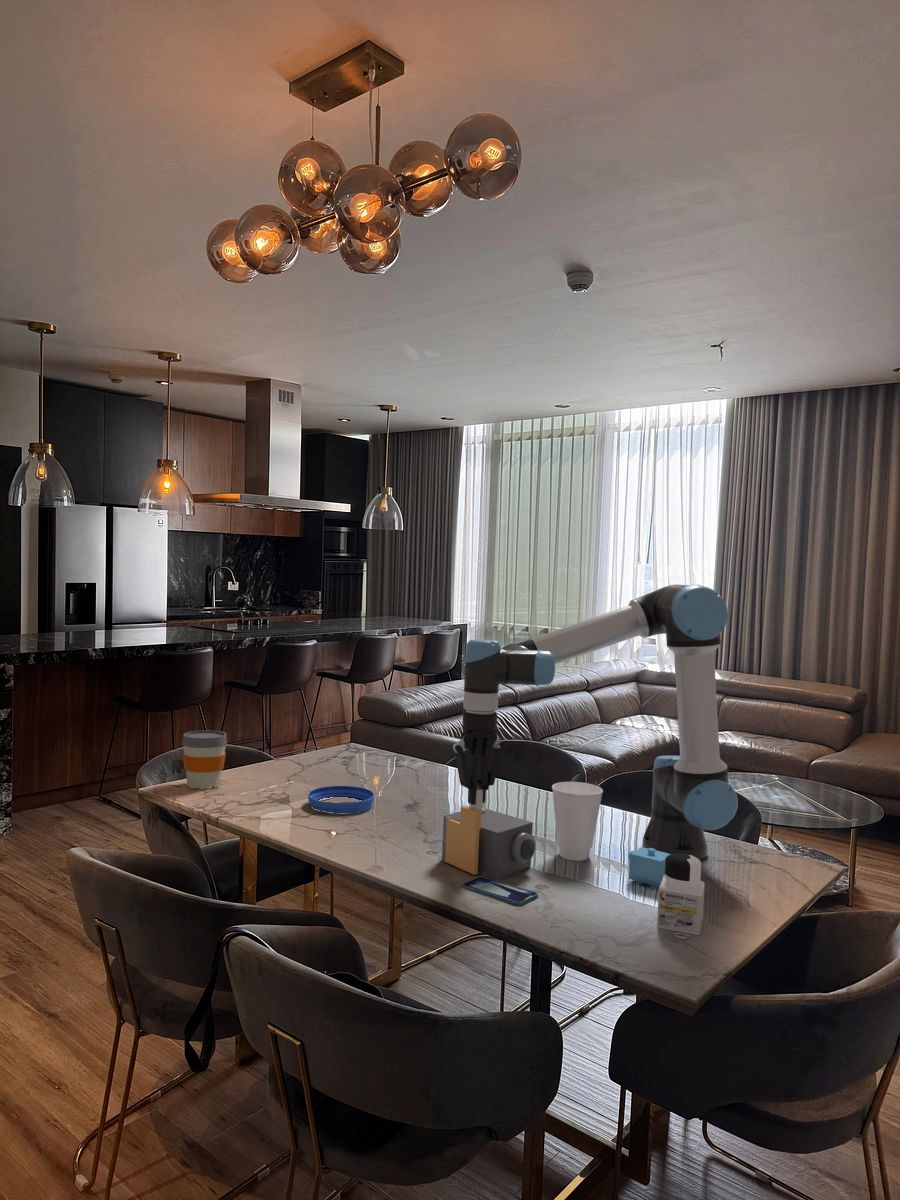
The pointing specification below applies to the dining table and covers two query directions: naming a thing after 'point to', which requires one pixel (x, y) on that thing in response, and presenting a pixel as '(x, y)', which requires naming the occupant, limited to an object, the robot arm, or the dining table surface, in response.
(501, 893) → the smartphone
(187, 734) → the reusable coffee cup
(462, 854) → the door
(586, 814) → the cup
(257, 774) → the dining table surface
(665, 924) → the container
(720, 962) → the dining table surface
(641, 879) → the teapot
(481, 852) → the case
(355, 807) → the blue flat round ring
